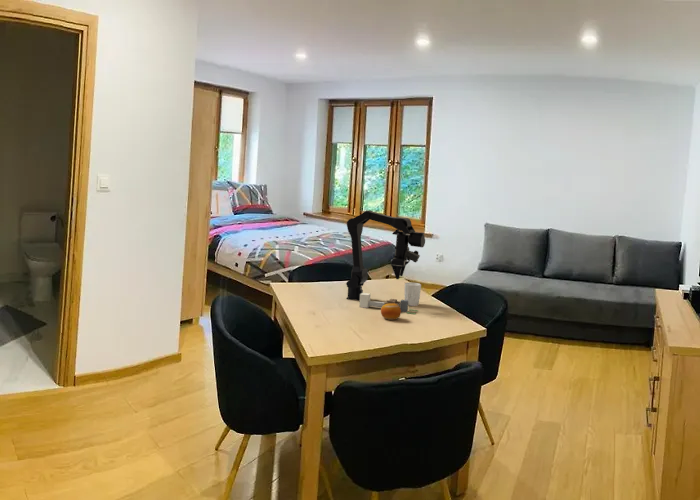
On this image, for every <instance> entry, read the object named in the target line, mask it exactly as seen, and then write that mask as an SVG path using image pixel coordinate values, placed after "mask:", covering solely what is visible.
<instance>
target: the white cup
mask: <svg viewBox="0 0 700 500" xmlns="http://www.w3.org/2000/svg"><path fill="white" fill-rule="evenodd" d="M421 289H422V284H421V283H420V282H410V281H409V282H404V297H403V298H404V300H408V307H410V306H411V307H412V306H413V307H414V306H415V307H416V306H419V304H420V297H421V292H422V290H421Z"/></svg>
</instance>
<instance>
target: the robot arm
mask: <svg viewBox="0 0 700 500" xmlns="http://www.w3.org/2000/svg"><path fill="white" fill-rule="evenodd" d="M370 220H371V221H373V222H378V223H380V224H384V225H385V224H386V225H389V226H391V227H392V228H393V229H395V231H393V232H392V235H395V236H396V242H395V246H394V249H395V251H394V255H393V258H392V259H391V260H390V266H391V268H392V270H393V274H394V276H395V279H396V280H399V279H400V277H403V275H404V272H405V269H406V266H407V265H408V264H409V263H410V261H412V262H414V263H417V262H418V261H419V260H420V259H419V258H420V257H421V255H420V254H419V250H414V251H412V250H410V247H415V248H424V247H425V245H426V244H425V243H426V237H425V233H424V232H422V231H421V232H418V231H417V232H416V231H415V228H414V226H413V224H412V221H411V219H410V218H408V217H400V216H399V217H398V216H397V217H396V216H390V215H387V214H383V213H381V212H375V211H373V210H365V211H364V212H362V213H361V214H359V215H357V216H355V217H352V218H349V219H348V220H347V221H346V228H347V231H348V233H349V235H350V238H351V239H350V240H351V249H352V251H351V252H352V263H353V264H352V269H351V273H350V274H351V275H350V276H351V277H350V279H349V280H348V281H347V282H346V283H345V285H346V288H347V297H346V300H351V301H360V294H361V293H364V290H363V286H364V285H365V283H366V282H367V280H368V277H369V274H368V270H369V269H368V268H365V266H364V259H363V247H362V233H363V229H364V225H365V224H366V223H367V222H369V221H370ZM409 246H410V247H409Z"/></svg>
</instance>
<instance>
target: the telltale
mask: <svg viewBox="0 0 700 500" xmlns="http://www.w3.org/2000/svg"><path fill="white" fill-rule="evenodd" d="M399 301H400V309H401V313H407V312H409V309H408V308H409V305H408V300H405V299H401V300H399Z"/></svg>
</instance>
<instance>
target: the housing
mask: <svg viewBox="0 0 700 500" xmlns="http://www.w3.org/2000/svg"><path fill="white" fill-rule="evenodd" d="M400 301H401V300H399V301H398V299H395V298H390V299H389V300H388V299H387V300H386V301H385V303H384V305H385V304H388V303H395V304H397V305H398V304H399V307H400ZM410 311H413V312H410ZM416 312H419V310H417V309H408V311H407V312H406V314H408V315H409V314H411V315H416Z"/></svg>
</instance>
